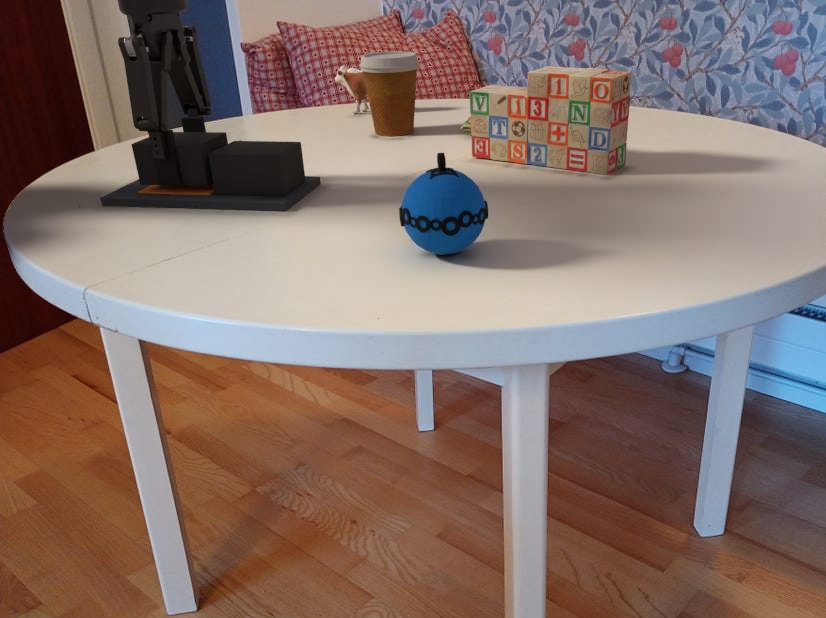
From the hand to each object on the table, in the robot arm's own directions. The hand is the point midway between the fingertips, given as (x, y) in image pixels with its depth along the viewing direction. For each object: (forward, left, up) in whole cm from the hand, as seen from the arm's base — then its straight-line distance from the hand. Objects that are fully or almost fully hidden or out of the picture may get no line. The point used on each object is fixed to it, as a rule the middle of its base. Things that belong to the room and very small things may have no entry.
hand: (187, 175), depth 103 cm
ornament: (+37, -18, -2) cm, 41 cm away
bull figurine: (+7, +55, -2) cm, 56 cm away
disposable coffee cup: (+16, +38, -2) cm, 41 cm away
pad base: (+3, 0, -2) cm, 4 cm away
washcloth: (+36, +42, -2) cm, 56 cm away
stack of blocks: (+43, +20, -2) cm, 48 cm away
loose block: (0, 0, 0) cm, 0 cm away
